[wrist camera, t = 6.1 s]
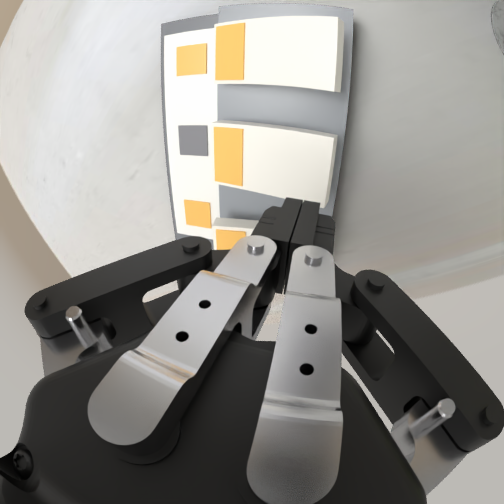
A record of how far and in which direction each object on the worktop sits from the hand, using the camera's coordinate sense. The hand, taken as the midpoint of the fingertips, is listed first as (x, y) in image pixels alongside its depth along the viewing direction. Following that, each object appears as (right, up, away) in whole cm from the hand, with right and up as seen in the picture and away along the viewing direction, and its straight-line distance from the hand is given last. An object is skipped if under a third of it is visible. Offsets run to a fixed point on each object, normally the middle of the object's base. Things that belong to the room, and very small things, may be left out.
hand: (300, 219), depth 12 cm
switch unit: (-3, +9, +12) cm, 15 cm away
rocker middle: (-1, +6, +8) cm, 9 cm away
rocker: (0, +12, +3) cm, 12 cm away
